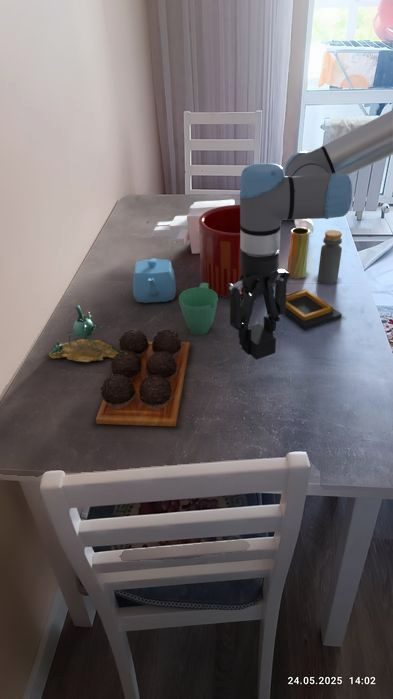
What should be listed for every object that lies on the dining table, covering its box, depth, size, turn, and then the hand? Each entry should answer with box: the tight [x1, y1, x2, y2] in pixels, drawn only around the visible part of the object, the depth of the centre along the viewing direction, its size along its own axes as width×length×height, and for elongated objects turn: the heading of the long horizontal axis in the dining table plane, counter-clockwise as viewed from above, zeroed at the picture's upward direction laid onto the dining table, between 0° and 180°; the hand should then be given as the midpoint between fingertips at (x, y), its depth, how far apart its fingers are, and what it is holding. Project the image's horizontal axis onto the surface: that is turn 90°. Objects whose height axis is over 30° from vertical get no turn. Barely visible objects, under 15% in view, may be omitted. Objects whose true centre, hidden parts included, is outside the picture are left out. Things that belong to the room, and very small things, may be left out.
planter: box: [199, 204, 275, 299], centre depth 142 cm, size 23×23×20 cm
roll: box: [293, 219, 315, 236], centre depth 174 cm, size 6×12×6 cm, turn 178°
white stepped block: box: [153, 199, 235, 254], centre depth 167 cm, size 15×25×28 cm
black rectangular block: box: [238, 322, 277, 361], centre depth 105 cm, size 7×5×4 cm
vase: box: [286, 227, 310, 280], centre depth 146 cm, size 6×6×14 cm
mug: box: [178, 282, 219, 336], centre depth 126 cm, size 15×10×10 cm
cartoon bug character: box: [48, 305, 120, 363], centre depth 117 cm, size 10×18×15 cm, turn 80°
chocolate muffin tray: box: [95, 328, 191, 428], centre depth 108 cm, size 28×17×8 cm, turn 175°
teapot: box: [132, 257, 177, 304], centre depth 138 cm, size 12×18×12 cm
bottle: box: [317, 229, 343, 285], centre depth 142 cm, size 6×6×15 cm
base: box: [284, 288, 343, 331], centre depth 132 cm, size 16×12×2 cm
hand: (257, 347), depth 106 cm, fingers closed on black rectangular block, 5 cm apart
